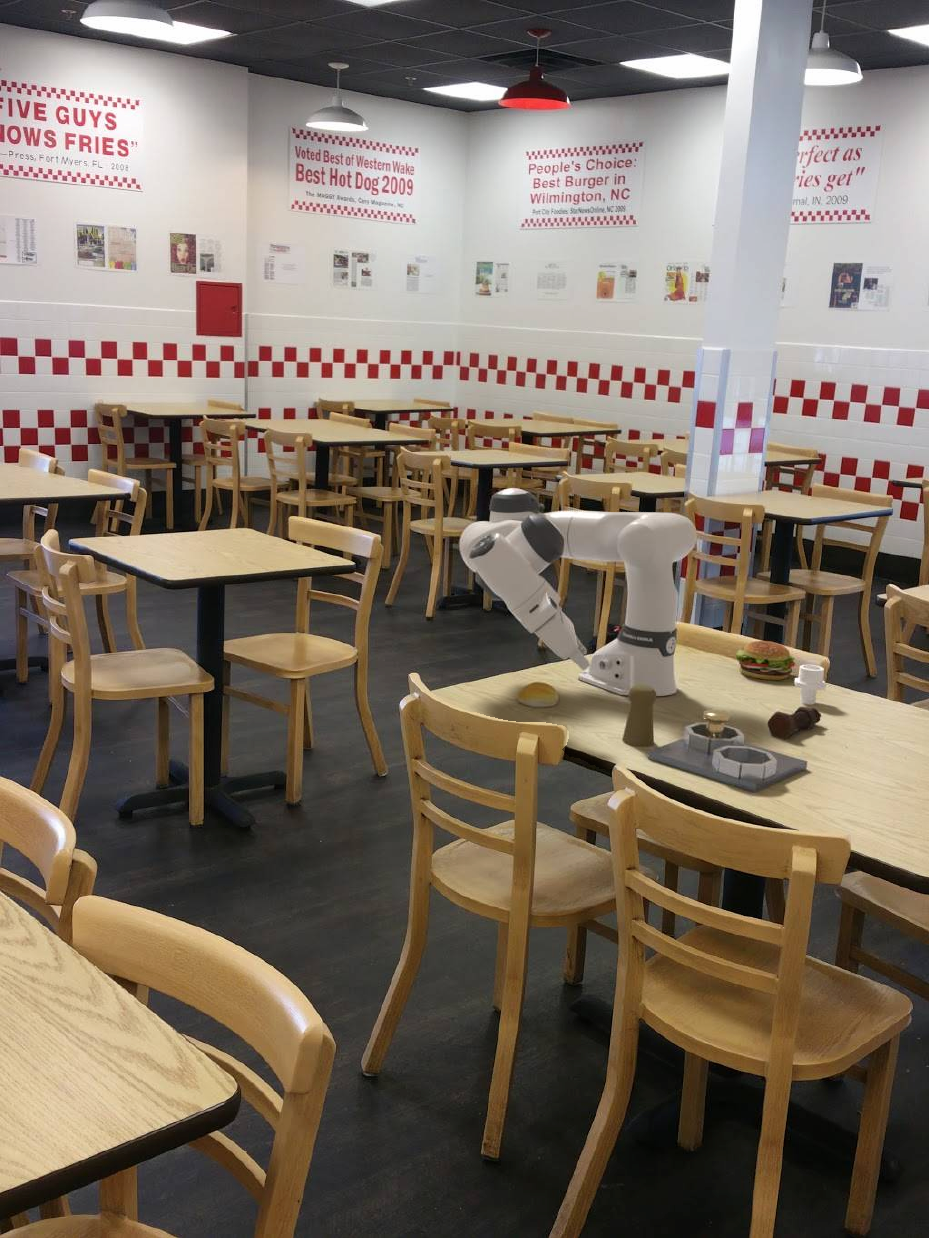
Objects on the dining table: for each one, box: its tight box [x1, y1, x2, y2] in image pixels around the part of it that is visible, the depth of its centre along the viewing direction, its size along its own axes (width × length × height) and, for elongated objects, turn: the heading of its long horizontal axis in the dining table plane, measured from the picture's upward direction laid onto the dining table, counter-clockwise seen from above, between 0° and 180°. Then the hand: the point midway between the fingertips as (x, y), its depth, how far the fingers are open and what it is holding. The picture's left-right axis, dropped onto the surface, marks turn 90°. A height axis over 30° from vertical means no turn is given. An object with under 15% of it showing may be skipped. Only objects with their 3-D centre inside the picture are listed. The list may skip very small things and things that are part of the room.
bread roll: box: [517, 681, 559, 708], centre depth 250 cm, size 8×9×4 cm
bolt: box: [767, 706, 822, 740], centre depth 241 cm, size 6×5×15 cm
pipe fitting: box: [793, 664, 827, 705], centre depth 262 cm, size 6×7×8 cm
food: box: [735, 640, 796, 681], centre depth 284 cm, size 14×14×8 cm
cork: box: [621, 685, 657, 748], centre depth 227 cm, size 6×6×11 cm
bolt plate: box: [647, 709, 808, 793], centre depth 218 cm, size 22×19×8 cm
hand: (585, 660), depth 225 cm, fingers open, 8 cm apart
